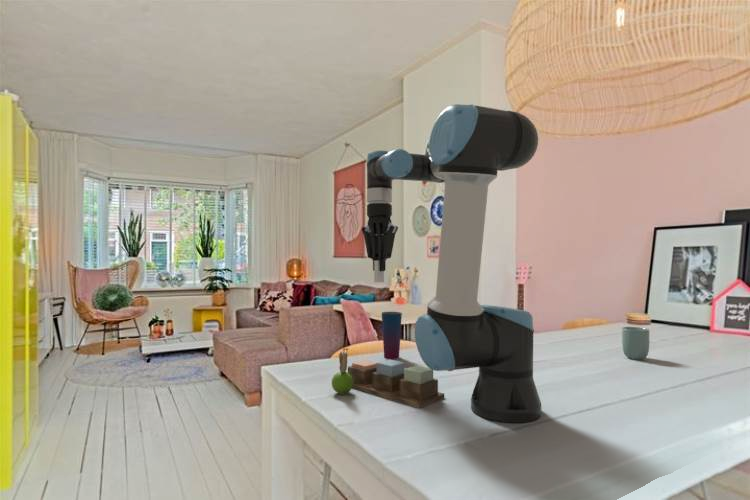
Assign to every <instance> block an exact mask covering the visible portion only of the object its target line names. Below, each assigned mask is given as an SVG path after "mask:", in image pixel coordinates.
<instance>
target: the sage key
mask: <svg viewBox="0 0 750 500" xmlns="http://www.w3.org/2000/svg"><path fill="white" fill-rule="evenodd" d="M433 379H434V370H432V369H430V368H429V367H428V366H423V365H422V366H421V365H418V364H417V365H413V366H410V367H405V368H404V380H405V381H409V382H413V383H417V384H420V385H421V384H424V383H427V382H430V381H433Z"/></svg>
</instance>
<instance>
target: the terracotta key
mask: <svg viewBox="0 0 750 500" xmlns="http://www.w3.org/2000/svg"><path fill="white" fill-rule="evenodd" d="M377 363H378V361H376V362H375V361H371V360H367V359H363V360H358V361H355V362H352V364H351V366H352V367H353V368H357V369H361V370H365V371H366V370H369V369H373V368H377Z"/></svg>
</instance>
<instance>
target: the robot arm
mask: <svg viewBox="0 0 750 500" xmlns="http://www.w3.org/2000/svg"><path fill="white" fill-rule="evenodd" d="M538 134H539V133H538V131H537V128H536V126H535V124H534V123H533V122H532V120H531V119H530V118H529V117H527V116H526V115H524V114H522V113H520V112H517V111H512V110H505V109H497V108H493V107H492V108H491V107H486V106H480V105H475V104H460V103H459V104H458V103H457V104H456V103H455V104H451V105H449V106H447V107H446V108H445V109H443V111H442V112H440V114H439V115H438V117H437V119H436V120H435V122H434V125H433V126H432V129H431V132H430V135H429V136H430V137H429V141H428V152H429V153H430V155H429V154H419V153H410V152H408V151H407V150H405V149H402V148H397V149H393V150H390V151H388V150H374V151H373V150H372V151H370V152H369V153H367V159H366V203H367V205H366V215H367V217H368V220H367V224H366V225H365V227H364V226H362V227H361V232H362V233H363V236H364V243H365V248H366V249H365V250H366V254H367V258H368V259H372V270H373V272H374V273H373V275H374V276H373V277H374V280H373V282H374V283H385V271H386V268H387V267H386V265H387V264H386V261H387V260H388V259H391V258H392V253H393V248H394V245H395V244H394V243H395V237H396V233H397V232H398V230H399V227H398V226H397V225H394V224H392V220H391V217H392V216H393V213H392V212H393V205H392V204H391V203H392V201H393V200H392V199H393V197H392V196H393V181H395V180H398V181H399V180H401V181H414V182H415V181H416V182H417V181H419V182H420V181H421V182H428V183H429V182H431V183H436V184H437V183H438V184H440V183H444V192H443V203H442V204H443V205H442V216H441V227H440V228H441V229H440V241H439V251H438V262H437V263H438V266H437V273H436V274H437V276H436V277H437V279H436V285H435V286H436V289H435V297H433V298H432V299H431V300H430V301H429V302H427V310H426V314H422V315H419V316H418V318H417V320H416V322H415V323H414V324H415V325H414V339H415V340H414V341H415V345H416V348H417V351H418V354H419V357H420V359H421V360H422V362H423V363H424V365H425V366H426V367H427V368H430V369H432V370H433V371H435V372H436V371H437V372H439V371H440V372H443V371H448V372H454V371H455V370H467V369H475V368H478V375H477V379H476V381H475V384H474V385H475V386H474V388H473V390H472V393H471V397H470V409H471V410H472V412H473V413H475V414H476V415H478V416H480V417H483V418H485V419H488V420H492V421H495V422H496V421H498V422H504V423H528V422H532V421H533V422H534V421H536V420H538V419H540V417H541V416H542V414H543V413H542V409H543V408H542V401H541V399H540V396H539V393H538V389H537V387H536V383H535V380H534V332H535V329H534V323H533V321H534V320H533V315H532V314H531V313H530V311H527V310H523V309H520V308H512V307H505V306H497V305H488V304H481V303H479V302H478V294H479V285H480V284H479V283H480V274H481V263H482V254H483V253H482V252H483V245H484V244H483V243H484V233H485V232H484V231H485V222H486V212H487V203H488V191H489V186H490V184H491V183H492V182H493V181H494V180H495V179H497V178H498V171H503V172H504V171H508V170H514V169H518V168H522V167H523V166H525V165H526V164H528V163H529V162H530V161H531V160H532V159H533V158H534V156H535V154H536V152H537V150H538V147H539V146H538V145H539V135H538Z"/></svg>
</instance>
